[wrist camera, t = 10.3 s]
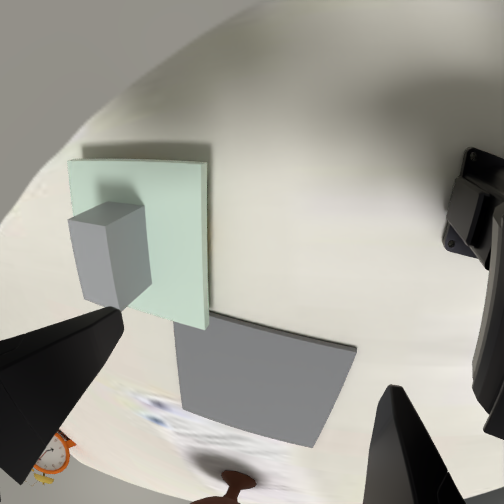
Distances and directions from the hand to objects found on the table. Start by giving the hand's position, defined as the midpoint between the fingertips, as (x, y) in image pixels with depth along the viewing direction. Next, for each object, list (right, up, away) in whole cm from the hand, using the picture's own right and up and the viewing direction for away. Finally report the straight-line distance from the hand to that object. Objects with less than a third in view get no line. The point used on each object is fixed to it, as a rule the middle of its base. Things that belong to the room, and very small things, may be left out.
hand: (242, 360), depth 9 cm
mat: (0, -9, +18) cm, 20 cm away
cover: (-8, +4, +13) cm, 16 cm away
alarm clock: (-52, -46, +53) cm, 87 cm away
